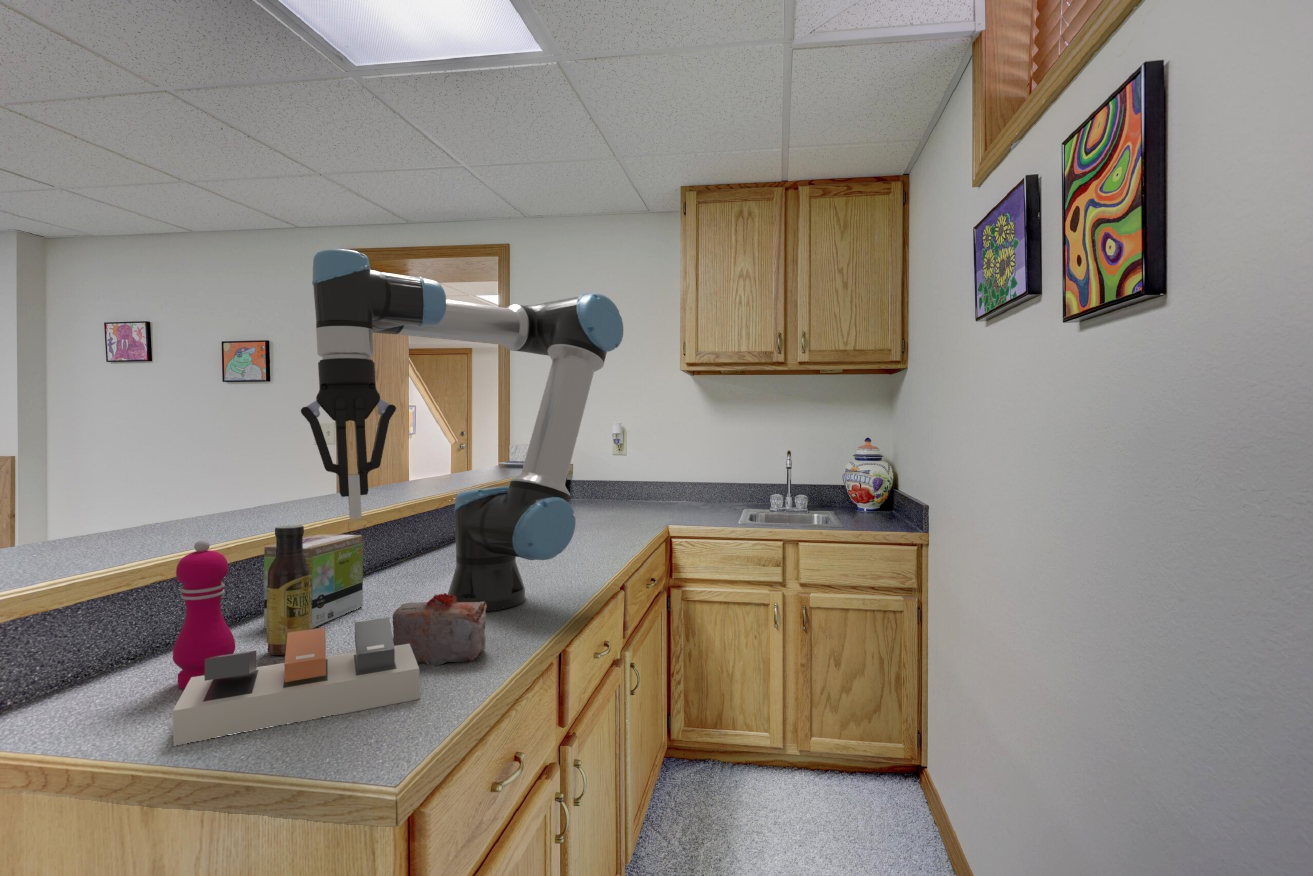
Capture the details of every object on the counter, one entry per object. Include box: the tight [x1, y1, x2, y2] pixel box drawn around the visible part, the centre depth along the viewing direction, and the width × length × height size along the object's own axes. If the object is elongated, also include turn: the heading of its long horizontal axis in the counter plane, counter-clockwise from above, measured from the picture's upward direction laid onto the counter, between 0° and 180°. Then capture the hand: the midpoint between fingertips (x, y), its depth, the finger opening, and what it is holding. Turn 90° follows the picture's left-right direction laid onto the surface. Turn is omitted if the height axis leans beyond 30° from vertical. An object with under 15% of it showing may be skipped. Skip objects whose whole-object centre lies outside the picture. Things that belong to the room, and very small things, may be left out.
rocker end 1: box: [205, 650, 257, 681], centre depth 79 cm, size 4×8×2 cm, turn 27°
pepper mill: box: [172, 539, 236, 691], centre depth 91 cm, size 7×7×20 cm
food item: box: [392, 592, 487, 667], centre depth 99 cm, size 14×8×10 cm, turn 94°
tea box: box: [263, 533, 364, 629], centre depth 121 cm, size 15×10×15 cm, turn 171°
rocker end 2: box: [354, 617, 395, 671], centre depth 86 cm, size 4×8×2 cm, turn 27°
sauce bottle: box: [266, 524, 312, 656], centre depth 103 cm, size 7×6×20 cm
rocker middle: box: [283, 627, 327, 682], centre depth 83 cm, size 4×8×2 cm, turn 27°
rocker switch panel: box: [172, 644, 421, 747], centre depth 83 cm, size 26×11×4 cm, turn 117°
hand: (355, 517), depth 96 cm, fingers closed
